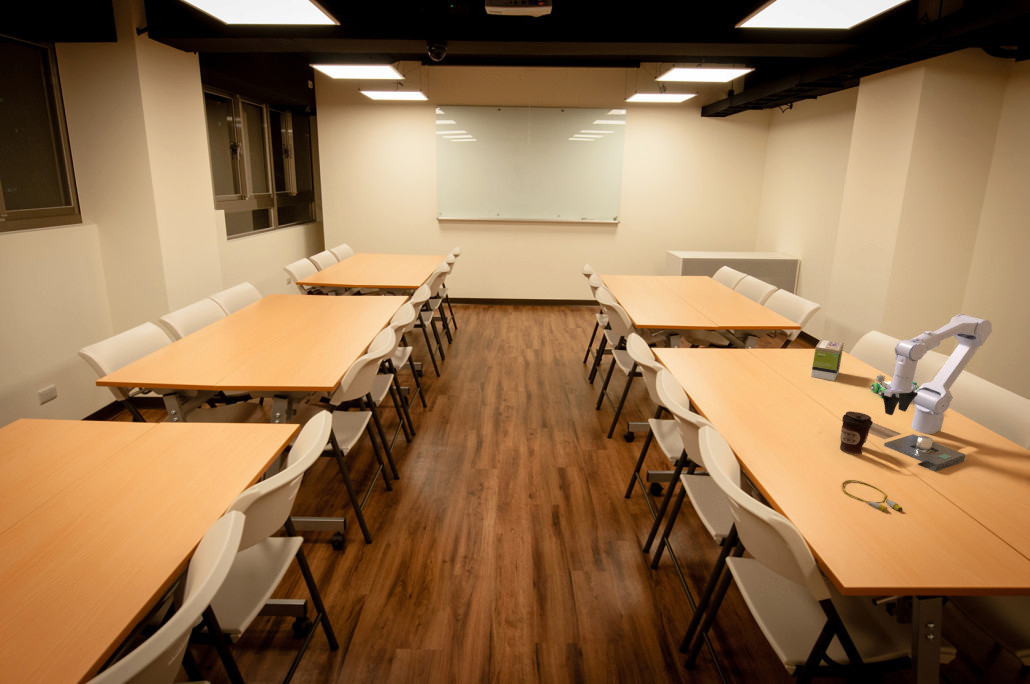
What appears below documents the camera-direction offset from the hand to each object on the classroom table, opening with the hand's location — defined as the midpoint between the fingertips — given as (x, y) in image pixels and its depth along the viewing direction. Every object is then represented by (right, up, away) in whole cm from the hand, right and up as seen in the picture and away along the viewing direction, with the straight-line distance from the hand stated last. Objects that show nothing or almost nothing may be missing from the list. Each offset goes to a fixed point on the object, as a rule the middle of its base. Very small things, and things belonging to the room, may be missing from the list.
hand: (895, 412), depth 192 cm
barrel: (+2, -13, -10) cm, 16 cm away
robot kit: (+29, 0, +37) cm, 47 cm away
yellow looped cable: (-31, -20, -34) cm, 51 cm away
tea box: (+12, +9, +65) cm, 67 cm away
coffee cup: (-20, -12, -8) cm, 25 cm away
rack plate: (+2, -13, -10) cm, 17 cm away
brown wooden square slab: (-3, -8, +4) cm, 10 cm away
